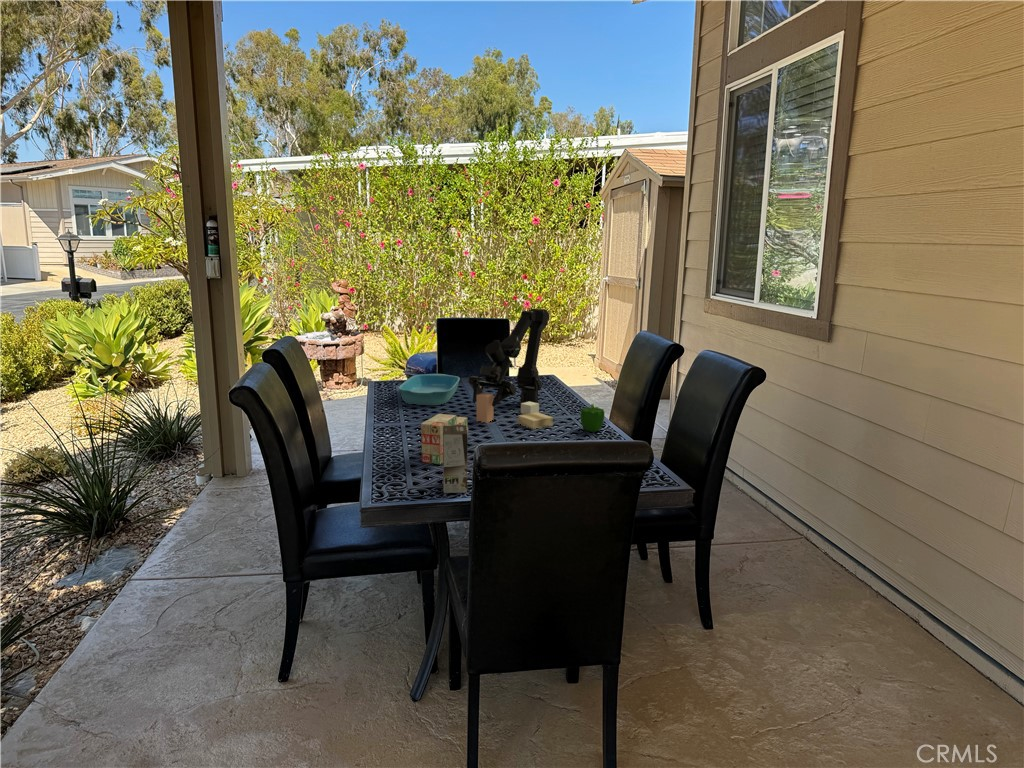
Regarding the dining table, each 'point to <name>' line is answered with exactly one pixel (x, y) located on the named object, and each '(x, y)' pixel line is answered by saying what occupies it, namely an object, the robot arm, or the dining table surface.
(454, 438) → the coffee box
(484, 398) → the pillar brick
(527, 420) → the base brick
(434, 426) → the stack of blocks
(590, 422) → the bell pepper
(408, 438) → the dining table surface
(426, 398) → the casserole dish
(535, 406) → the brick
